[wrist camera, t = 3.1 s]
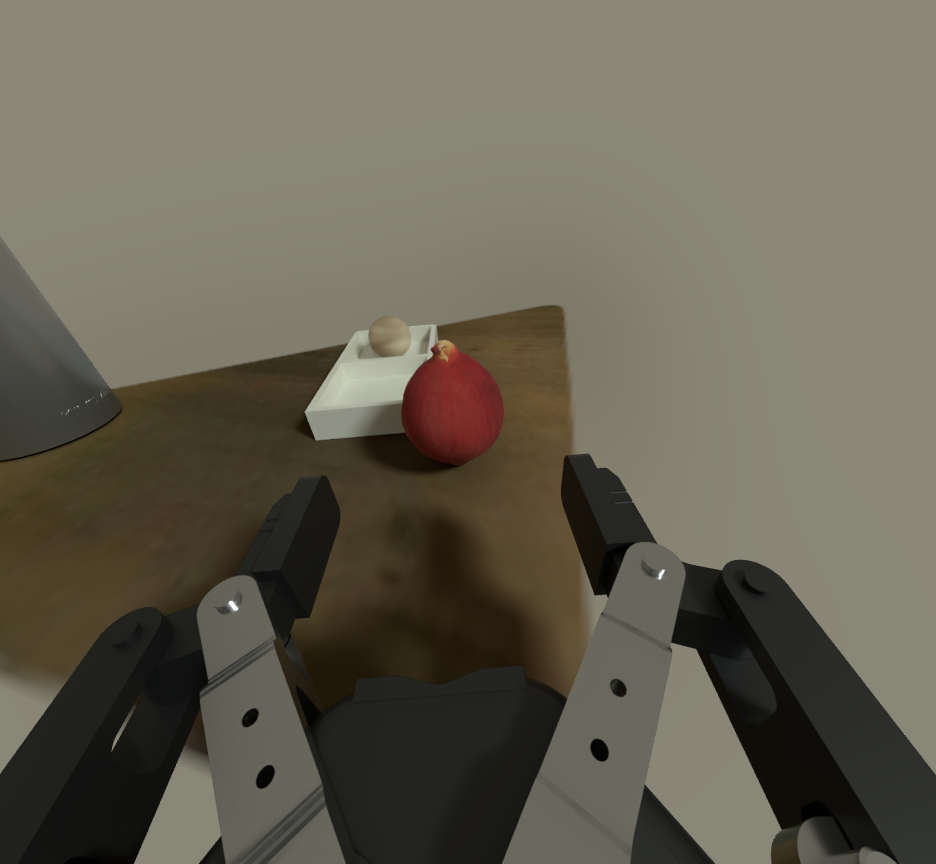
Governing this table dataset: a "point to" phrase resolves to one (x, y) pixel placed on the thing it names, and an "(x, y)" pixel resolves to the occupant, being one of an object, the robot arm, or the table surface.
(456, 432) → the onion
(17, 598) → the table surface
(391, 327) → the beige wooden ball
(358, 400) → the white divided tray
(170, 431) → the table surface
